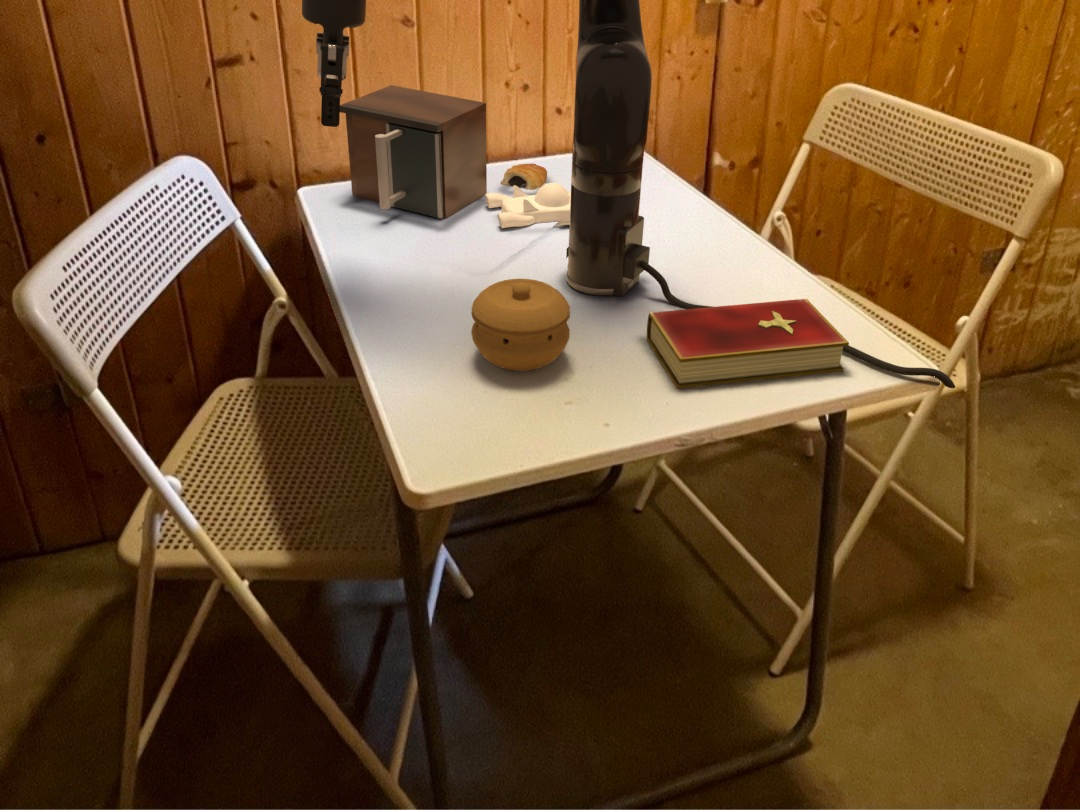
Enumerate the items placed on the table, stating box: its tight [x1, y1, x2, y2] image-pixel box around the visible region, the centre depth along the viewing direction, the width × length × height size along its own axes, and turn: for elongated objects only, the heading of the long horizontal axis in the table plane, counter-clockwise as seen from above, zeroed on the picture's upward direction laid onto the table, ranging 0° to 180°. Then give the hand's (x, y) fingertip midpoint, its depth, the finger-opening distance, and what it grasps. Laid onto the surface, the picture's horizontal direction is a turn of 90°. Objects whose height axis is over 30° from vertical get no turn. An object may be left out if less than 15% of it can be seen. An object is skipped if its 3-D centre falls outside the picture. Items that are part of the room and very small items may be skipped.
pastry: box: [500, 162, 548, 191], centre depth 170 cm, size 9×7×4 cm
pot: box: [470, 278, 571, 372], centre depth 120 cm, size 12×12×10 cm
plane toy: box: [484, 182, 571, 229], centre depth 157 cm, size 10×20×6 cm, turn 106°
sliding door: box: [375, 123, 444, 219], centre depth 151 cm, size 6×9×13 cm, turn 61°
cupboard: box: [340, 84, 488, 220], centre depth 159 cm, size 13×18×16 cm
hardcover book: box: [646, 298, 850, 390], centre depth 123 cm, size 12×21×4 cm, turn 103°
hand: (330, 114), depth 128 cm, fingers open, 8 cm apart
